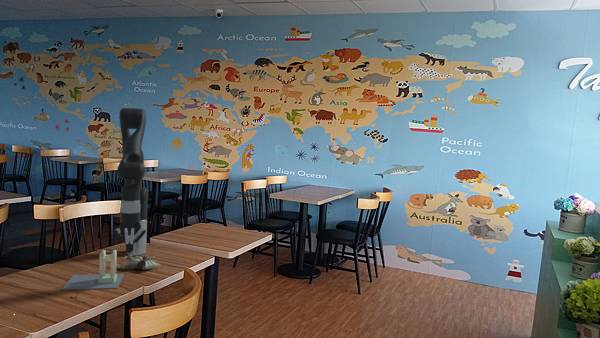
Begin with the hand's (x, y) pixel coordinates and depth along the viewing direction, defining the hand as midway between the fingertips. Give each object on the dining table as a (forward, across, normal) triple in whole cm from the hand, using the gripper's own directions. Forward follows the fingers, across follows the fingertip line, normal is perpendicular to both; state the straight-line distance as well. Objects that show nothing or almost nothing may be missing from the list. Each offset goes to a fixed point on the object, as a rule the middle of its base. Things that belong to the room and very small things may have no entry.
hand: (129, 252), depth 183 cm
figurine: (+13, -4, -17) cm, 22 cm away
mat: (+12, +13, 0) cm, 18 cm away
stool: (+12, +8, 0) cm, 14 cm away
